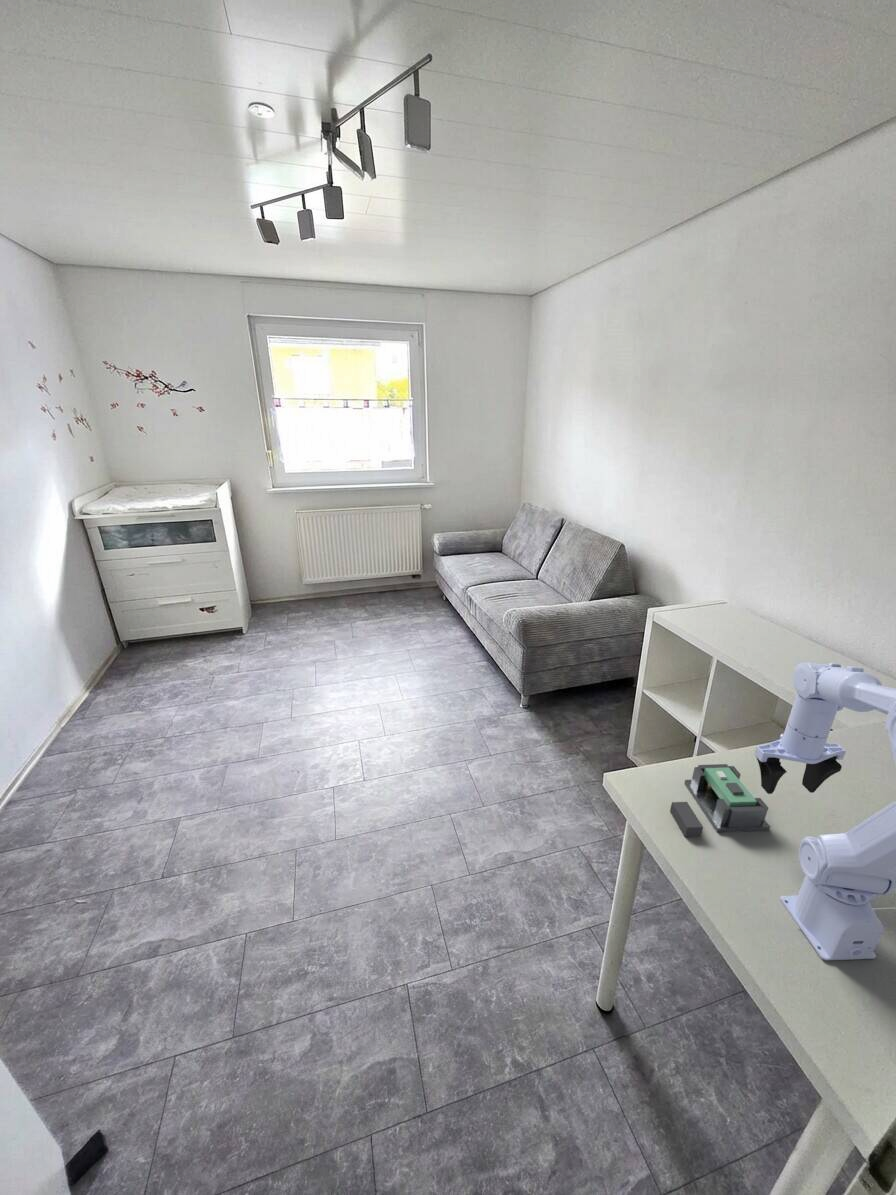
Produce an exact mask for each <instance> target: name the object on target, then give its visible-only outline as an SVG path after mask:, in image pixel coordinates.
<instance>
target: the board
mask: <svg viewBox="0 0 896 1195" xmlns="http://www.w3.org/2000/svg"><path fill="white" fill-rule="evenodd" d="M704 774H705V775H706V776H705V779H706V781H707V782H708V783H709V785H710V786H711V787H712V789H713V790H714V791H715V793H716V794H717V795H718V797H719V798H720V799H723V800H724V801H725V802H726V804H727V805H728V806H729V808H730V807H755V806H756V803H757V801H756V800H755V798H756V797H754V795H752V794H751V793H750V791H749V790H748V789H747V787H746V786H745V785H744V784H743V783H742V781H741V780H740V778H739V779H738V778H737V777H736V775H735V774H734V773H733V772H732V771H731V769H730V768H729V767H727V768H705V770H704Z"/></svg>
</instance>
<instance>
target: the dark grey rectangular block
mask: <svg viewBox="0 0 896 1195" xmlns="http://www.w3.org/2000/svg"><path fill="white" fill-rule="evenodd" d="M669 813H670V815H671V816H672V818H673V819H674V821H675V823H676V825H677V826H678V829H679V830H680V831H681V833H682V835H683V837H684V838H700V837H701V836H702V833H703V830H704V826H703V825H702V823H701V821H700V819H699V818H698V817H697V815H696V813H695V812H694V810H693V809H692V807H691V806H690V804H689V803H688V801H672V802H671V805H670V809H669Z"/></svg>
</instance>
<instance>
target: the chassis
mask: <svg viewBox="0 0 896 1195" xmlns="http://www.w3.org/2000/svg"><path fill="white" fill-rule="evenodd" d="M727 767H729V768H730V769H731V771H732V772H733V773H734V774H735V775H736V777H737V778H738V779H739V780H740V778H741V773H740V772H739V770H738V769H737V768H736V767H735V765H728V763H724V764H723V763H719V764H718V763H717V764H715V763H714V764H698V766H695V767H694V768H693V772H692V776H691V779H685V780H684V785H685V787H686V788H687V790H688V791H689V793H690V794H691V796H692V798H694V799H693V800H695V802H696V804H698V806H699V808H700V809H701V811H702V813H703V814H704V815H705V817H706V818H707V821H709V823H710V824H711V826H712V828H713V829H714V830H715V832H716V833H735V832H736V833H739V832H740V833H741V832H744V833H745V832H769V831H770V829H771V826H770V824H769V823H768V822H767V820H766V816H767V814H768V810H769V807H768V805H767V804H766V803H765V801H763V799H762V798H761V797H754V798H755V800H756V801H757V803H756V806H755V807H730V808H729V806H728V805H727V804H726V802H725V801H724V800H723V799H720V798H719V797H718V795H717V794H716V793H715V791H714V790H713V789H712V787H711V786H710V785H709V783H708V782H707V781H706V779H705V776H706V775H705V774H704V770H705V768H727Z"/></svg>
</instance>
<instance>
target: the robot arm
mask: <svg viewBox="0 0 896 1195" xmlns="http://www.w3.org/2000/svg"><path fill="white" fill-rule="evenodd" d="M793 687H794V689H795V691H796V694H795V698H794V701H793V704H792V707H791V711H790V714H789V715H788V719H787V722H786V726H785V729H784V732H783V733H781V734H780V736H779V739H777V740H774V741H772V742H771V741H770V742H769V743H766V744H762V745H756V746H755V750H754V753H753V756H755V758H756V760H757V764H758V766H759V771H760V784H761V785H760V786H761V788H762V789H763V790H764V791H765V792H766V794H769V795H772V794H773V793H774V792H775V790H776V787H777V785H778V782H779V780H781V778H782V777H783V776H784V775H785V774H786V773H788V771H787V770H786V769H785V768H784V767H783V766H782V765H781V763H782V762H781V761H780V760H786V761H792V762H797V763H803V764H805V769H804V773H803V775H802V781H801V784H802V786H803V787H804V788H805V789H806V790H807V791H808V792H809V793H812V794H813V793H815V792H816V791H817V790H818V788H819V787H820V786H821V785H822V784H823V783H824V782H825V781H826V780H827V779H829V778H830V777H831V776H834V775H835V774H837V773H839V772H841V770H842V768H843V765H842V764H840V763H839V762H838V760H839V761H840V760H841V761H842V760H844V757H845V755H846V753H847V750H846V749H844V748H843V747H842V746H841V745H840V744H839V743H834V742H833V743H832V742H831V743H830V742H827V740H828V738H829V735H830V732H831V729H832V727H833V725H834V720H835V718H836V715H837V713H838V712H839V711H840V712H841V711H842V710H843V709H844V708H845V709H848V710H851V711H854V712H858V713H865V712H866V713H867V712H871V711H873V710H875V711H878V712H879V713H882V714H884V715H886V720H885V721H886V723H885V730H886V731H887V733H888V735H887V736H888V739H889V742H890V746H891V751H892V756H893V760H894V764H895V765H894V766H896V688H895V687H890V686H886V685H883V684H882V682H881V681H880V680H879V679H878V678H877V677H875V676H874V675H873V674H870V673H867V672H865V670H864V667H859V666H853V665H852V666H851V665H850V666H849V665H847V666H846V667H845V666H843V665H842V664H840V663H835V662H834V663H833V662H829V663H827V664H826V663H815V662H808V661H805V662H801V663H798V664H797V666H796V667H795V669H794V673H793ZM798 847H799V848H798V860H799V863H800V866H801V870H802V871H803V873H804V874H805V875H804V877H803V878H804V879H803V881H802V883H801V885H800V889H799V890H798V894H796V895H793V894H792V895H780V897H779V899H780V902H781V903H782V904H783V906H784V907H785V909H786V910H787V912H788V913H789V914H790V916H791V917H792V918H793V920H794V921H795V923H796V924H797V926H798V927H799V928H800V930H801V931H802V933H803V934H804V936H805V937H806V938H807V940H808V941H809V943H810V944H811V945H812V947H813V949H814V950H815V951H816V952H817V954H818V955H819V957H820V958H821V959H822V960H824V961H839V960H840V961H844V960H846V961H847V960H866V959H867V960H868V959H870V960H871V959H873V960H874V959H876V958H877V955H876V953H875V949H876V947H877V945H878V943H879V941H880V939H881V937H882V935H883V934H884V931H885V930H884V925H883V923H882V922H881V920H880V919H879V917H878V916H877V914H876V912H875V910H874V908H873V905H872V903H871V901H876V900H877V898H878V896H879V895H881V896H890V895H891V894H892V893H894V891H895V889H896V799H895V800H894V801H891V803H889V804H888V805H886V806H885V807H883V808H882V809H880V810H878V811H877V812H875V813H874V814H872V815H871V816H869V817H868V818H867V819H865V820H863V821H862V822H861V823H859V824H857V825H856V826H854V827H852V828H851V829H849V830H848V831H847V832H841V833H828V834H827V833H826V834H819V835H818V836H817V837H814V836H809V835H807V836H805V837H804V838H803V839H802V840H801V842H800V843H799V846H798Z"/></svg>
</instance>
